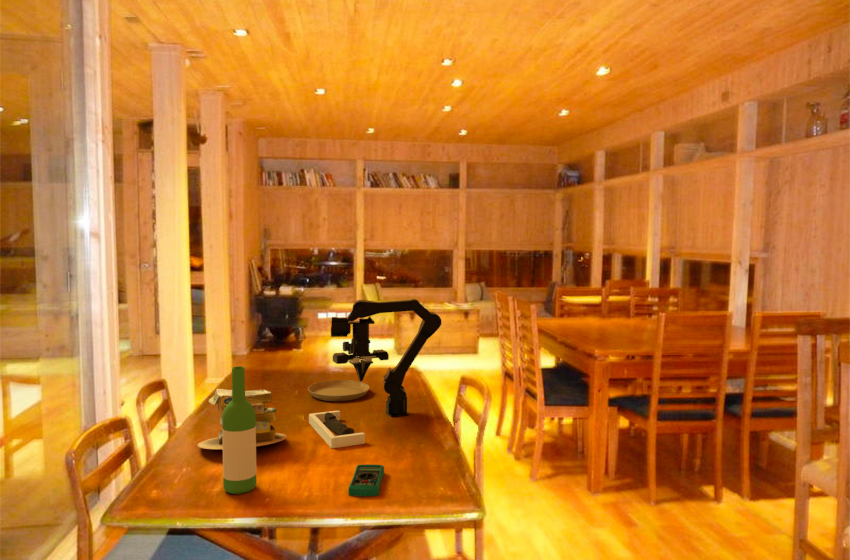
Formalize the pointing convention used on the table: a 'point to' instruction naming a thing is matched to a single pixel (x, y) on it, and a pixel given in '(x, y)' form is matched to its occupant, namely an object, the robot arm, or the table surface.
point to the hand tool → (337, 425)
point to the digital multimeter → (366, 480)
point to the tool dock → (328, 437)
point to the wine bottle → (239, 439)
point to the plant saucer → (338, 390)
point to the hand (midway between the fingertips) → (360, 381)
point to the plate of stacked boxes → (262, 417)
